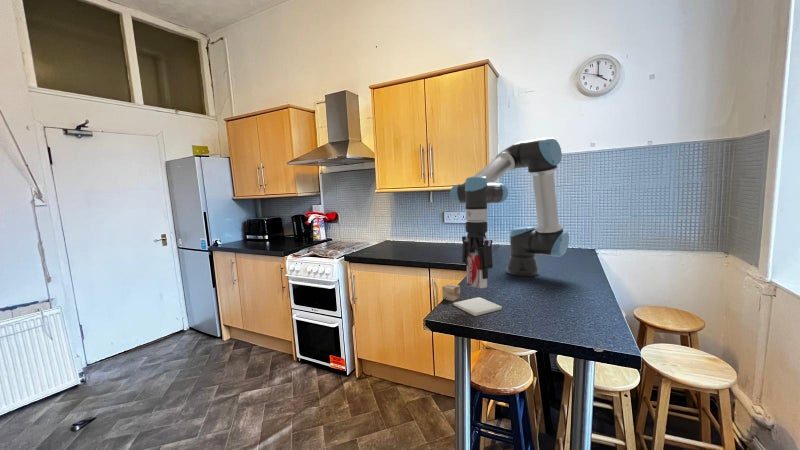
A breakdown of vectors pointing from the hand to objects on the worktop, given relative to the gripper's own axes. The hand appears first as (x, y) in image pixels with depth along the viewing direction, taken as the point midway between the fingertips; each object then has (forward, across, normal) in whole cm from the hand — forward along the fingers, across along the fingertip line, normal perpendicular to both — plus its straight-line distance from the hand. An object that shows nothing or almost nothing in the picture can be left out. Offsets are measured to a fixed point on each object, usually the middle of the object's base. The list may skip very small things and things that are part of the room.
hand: (476, 284), depth 113 cm
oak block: (+8, -13, -2) cm, 16 cm away
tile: (+8, 0, 0) cm, 8 cm away
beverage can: (+1, 0, 0) cm, 1 cm away
